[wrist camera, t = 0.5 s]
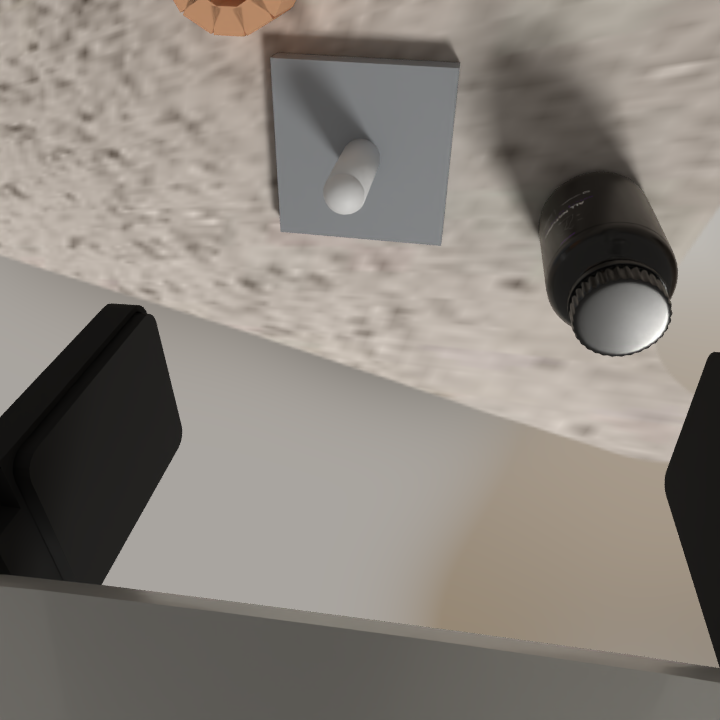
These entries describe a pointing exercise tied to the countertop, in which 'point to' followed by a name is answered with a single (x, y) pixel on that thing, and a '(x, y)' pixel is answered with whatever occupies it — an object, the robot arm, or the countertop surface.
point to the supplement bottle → (607, 263)
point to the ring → (233, 14)
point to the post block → (363, 145)
